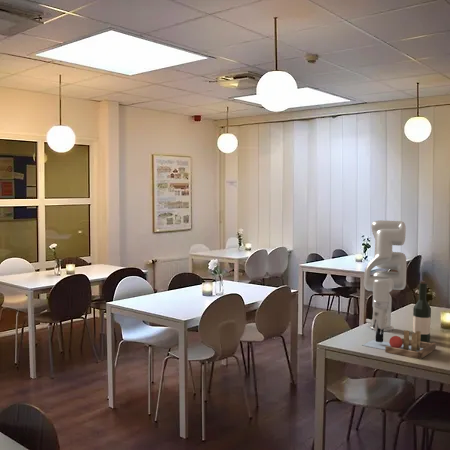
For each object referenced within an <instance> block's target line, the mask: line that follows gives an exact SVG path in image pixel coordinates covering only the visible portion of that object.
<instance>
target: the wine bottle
mask: <svg viewBox="0 0 450 450" xmlns="http://www.w3.org/2000/svg"><path fill="white" fill-rule="evenodd" d="M427 284H428V283H426V281H424V280H423V281H420V282H419V285H418V286H419V288H418V289H419V291H418V294H419V295H418V300H417V302H416V303H415V305H414V306H413V309H412V310H413V312H412V333H415V331H420V332H421V337H420V341H421V342H427V343H431V325H432V324H431V322H432V321H431V319H432V308H431V306H430V304H429V303H428V301H427V291H428V290H427Z"/></svg>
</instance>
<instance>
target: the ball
mask: <svg viewBox="0 0 450 450" xmlns="http://www.w3.org/2000/svg"><path fill="white" fill-rule="evenodd" d="M401 338H402V337H400V336H399V335H398V336H397V335H393V336H391V337H390V339H389V340H388V341H389V343H390V346H391V347H394V348H400V347H401V346H402V345H404V344H403V342H402V339H401Z"/></svg>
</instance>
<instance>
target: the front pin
mask: <svg viewBox="0 0 450 450" xmlns="http://www.w3.org/2000/svg"><path fill="white" fill-rule="evenodd" d="M403 338H404V344H402V345H403V349H405V350H409V346H410V345H409V339H410V330H406V329H405V330H403Z"/></svg>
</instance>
